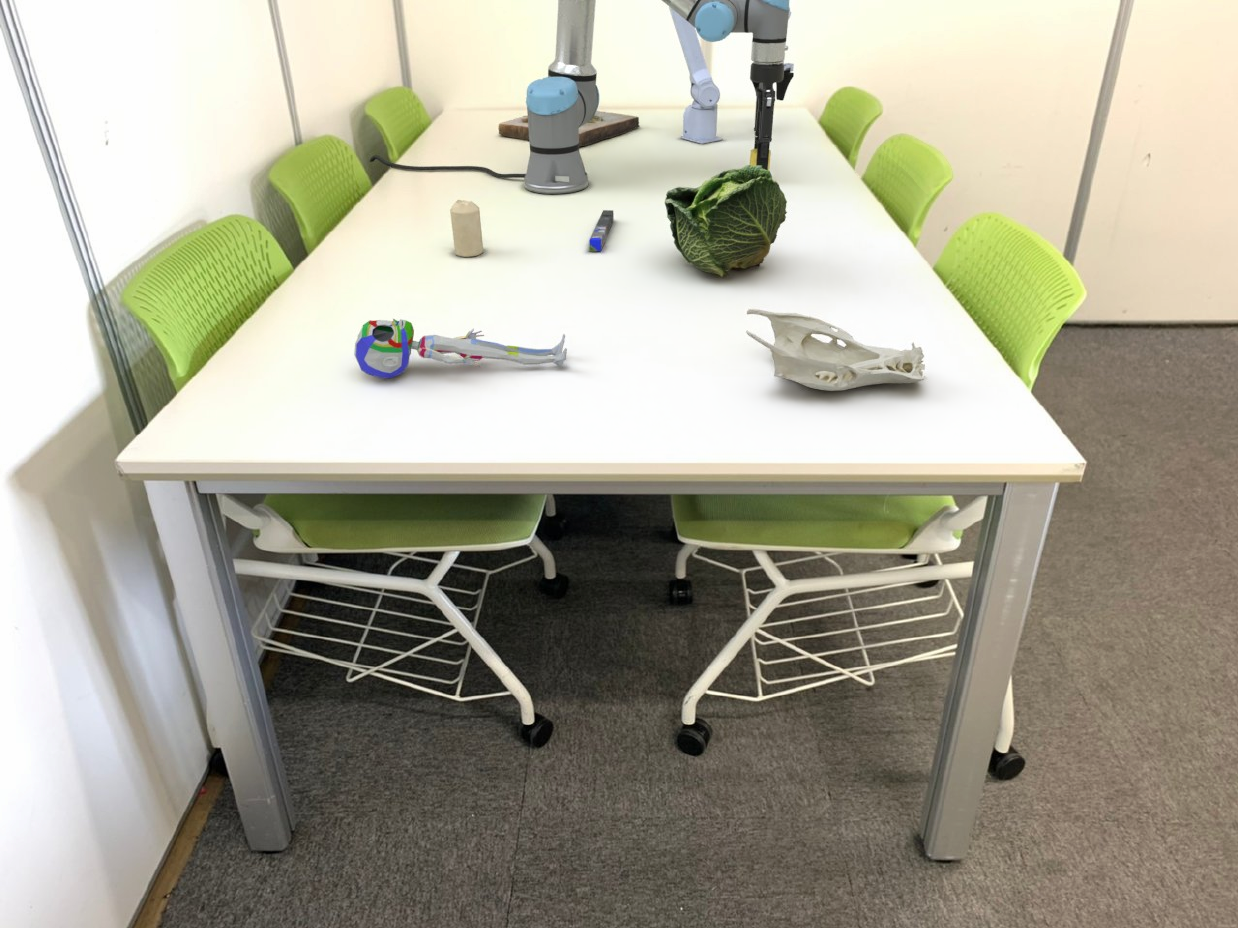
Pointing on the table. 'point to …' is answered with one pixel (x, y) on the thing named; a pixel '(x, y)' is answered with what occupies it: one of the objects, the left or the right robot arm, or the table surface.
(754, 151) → the cylinder
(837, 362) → the anatomical model
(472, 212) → the candle
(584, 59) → the left robot arm
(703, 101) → the right robot arm
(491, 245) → the table surface
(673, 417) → the table surface
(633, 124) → the plaque
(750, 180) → the vegetable
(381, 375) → the toy
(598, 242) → the pillar
